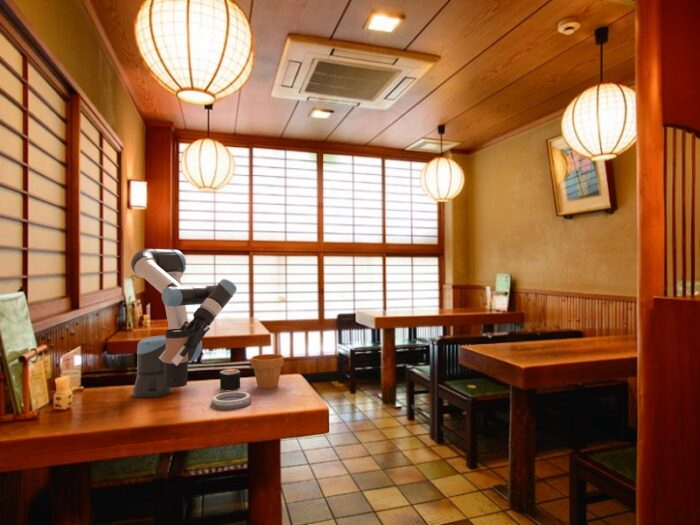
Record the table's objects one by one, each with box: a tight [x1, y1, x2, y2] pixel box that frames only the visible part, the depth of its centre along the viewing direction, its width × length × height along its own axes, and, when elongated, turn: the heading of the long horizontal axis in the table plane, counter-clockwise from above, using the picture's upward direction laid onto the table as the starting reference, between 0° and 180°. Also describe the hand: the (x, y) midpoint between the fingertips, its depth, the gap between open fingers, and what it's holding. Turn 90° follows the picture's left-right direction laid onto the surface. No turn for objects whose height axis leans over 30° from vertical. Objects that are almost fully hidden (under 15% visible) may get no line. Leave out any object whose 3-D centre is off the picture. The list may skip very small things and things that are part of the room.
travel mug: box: [165, 328, 189, 389], centre depth 156 cm, size 8×8×20 cm
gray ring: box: [210, 391, 252, 411], centre depth 165 cm, size 15×15×3 cm
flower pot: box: [250, 353, 285, 389], centre depth 191 cm, size 14×14×13 cm
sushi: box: [219, 368, 241, 391], centre depth 189 cm, size 8×8×8 cm
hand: (167, 361), depth 154 cm, fingers closed on travel mug, 7 cm apart
